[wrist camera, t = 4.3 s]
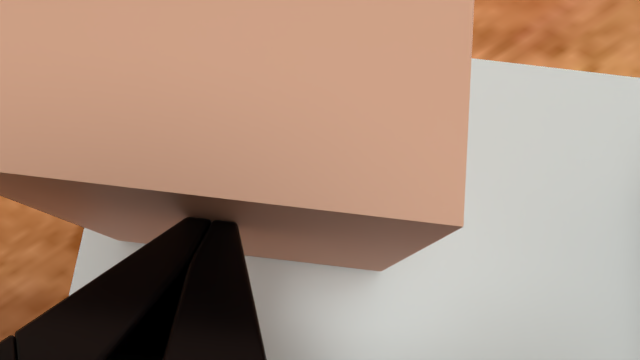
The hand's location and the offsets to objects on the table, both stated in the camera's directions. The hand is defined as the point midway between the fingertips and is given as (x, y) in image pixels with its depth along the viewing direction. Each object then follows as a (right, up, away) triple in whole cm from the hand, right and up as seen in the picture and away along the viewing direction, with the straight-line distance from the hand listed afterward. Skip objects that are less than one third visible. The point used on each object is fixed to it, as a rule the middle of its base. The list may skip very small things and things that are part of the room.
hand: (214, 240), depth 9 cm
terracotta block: (0, +2, +6) cm, 6 cm away
